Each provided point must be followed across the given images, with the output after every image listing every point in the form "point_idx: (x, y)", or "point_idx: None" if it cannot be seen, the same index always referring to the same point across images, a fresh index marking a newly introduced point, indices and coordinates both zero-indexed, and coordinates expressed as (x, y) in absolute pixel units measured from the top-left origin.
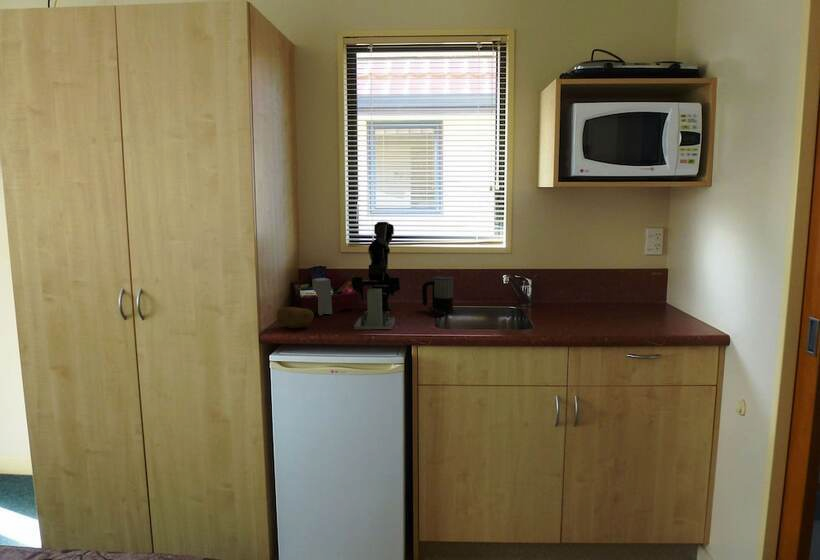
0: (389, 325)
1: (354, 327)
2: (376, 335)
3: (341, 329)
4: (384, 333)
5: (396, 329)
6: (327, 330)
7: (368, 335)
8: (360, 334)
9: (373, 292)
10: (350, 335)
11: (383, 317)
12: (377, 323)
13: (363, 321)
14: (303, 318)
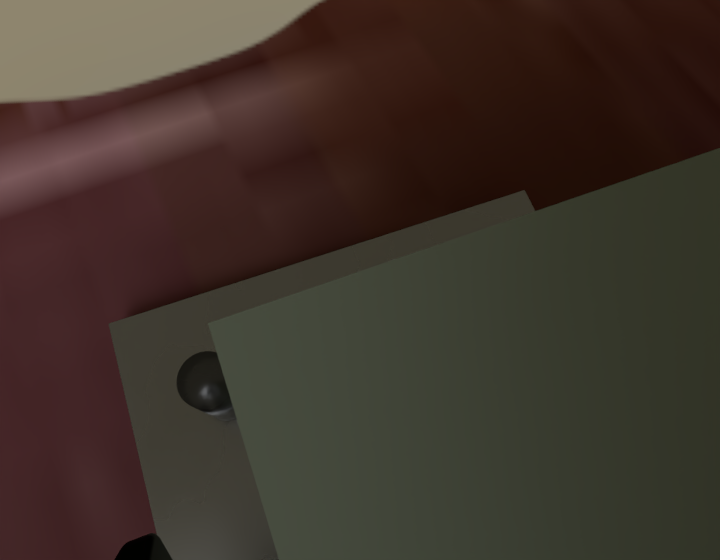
0: (149, 371)
1: (514, 198)
2: (190, 80)
3: (620, 159)
4: (142, 168)
5: (67, 375)
6: (706, 84)
7: (261, 58)
8: (347, 63)
9: (488, 240)
10: (411, 10)
11: (215, 354)
12: None
13: None
14: None
